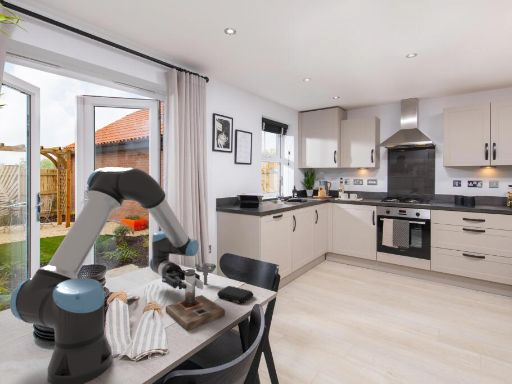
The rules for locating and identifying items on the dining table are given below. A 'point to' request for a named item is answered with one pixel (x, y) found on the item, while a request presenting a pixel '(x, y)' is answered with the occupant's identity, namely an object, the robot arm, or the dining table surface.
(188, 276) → the metal cylinder
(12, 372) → the dining table surface
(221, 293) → the carrying case or bag
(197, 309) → the socket board
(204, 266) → the mechanical component
